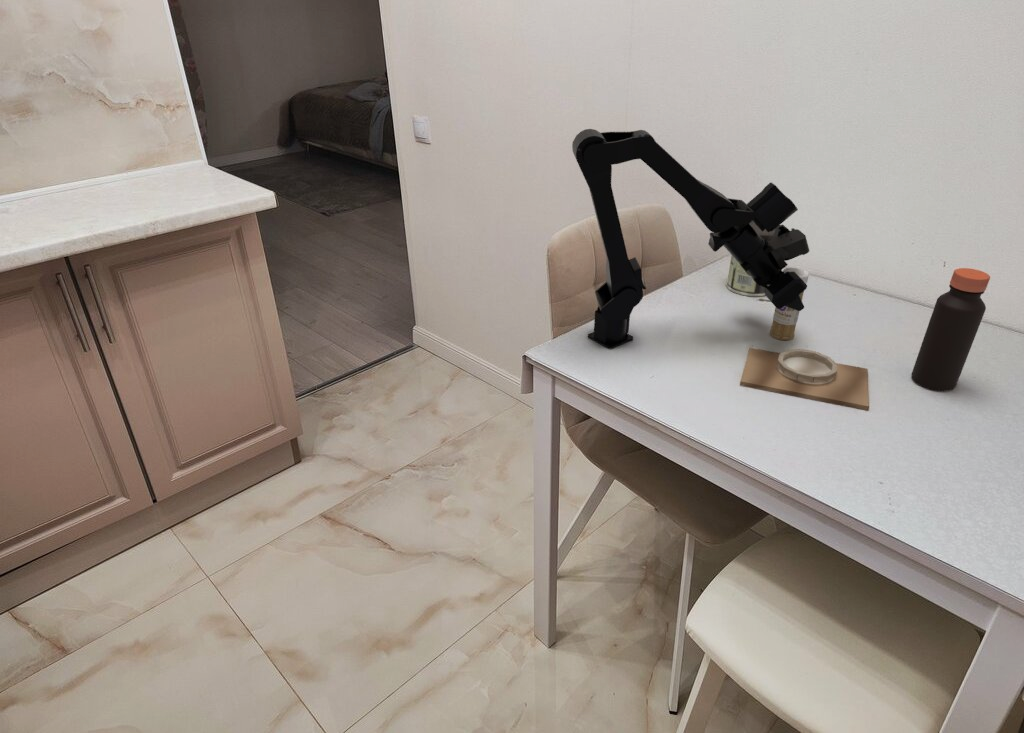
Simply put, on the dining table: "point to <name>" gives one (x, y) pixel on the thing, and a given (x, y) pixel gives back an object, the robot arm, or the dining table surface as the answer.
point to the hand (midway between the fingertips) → (796, 303)
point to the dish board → (807, 377)
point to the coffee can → (740, 279)
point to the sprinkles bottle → (787, 313)
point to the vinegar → (951, 331)
